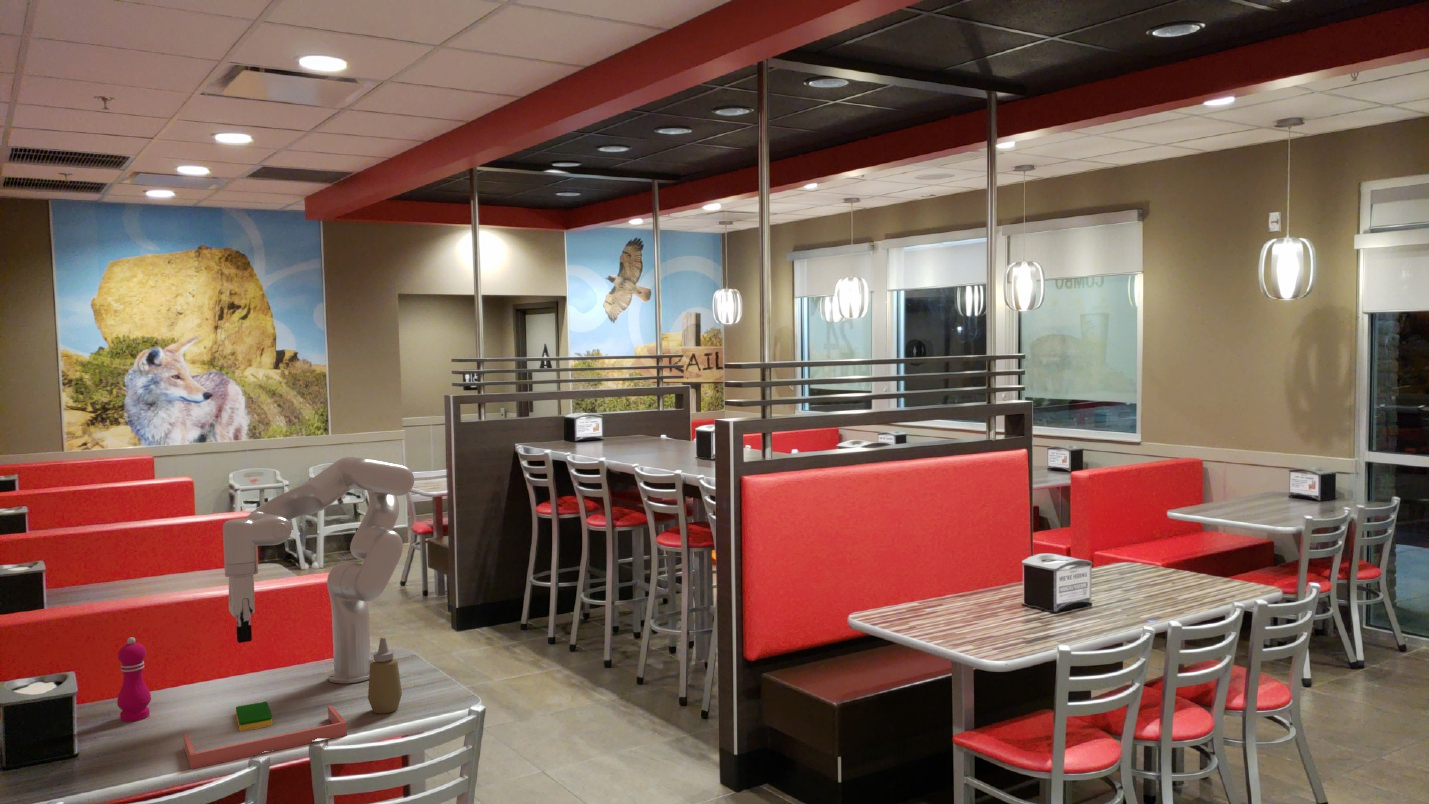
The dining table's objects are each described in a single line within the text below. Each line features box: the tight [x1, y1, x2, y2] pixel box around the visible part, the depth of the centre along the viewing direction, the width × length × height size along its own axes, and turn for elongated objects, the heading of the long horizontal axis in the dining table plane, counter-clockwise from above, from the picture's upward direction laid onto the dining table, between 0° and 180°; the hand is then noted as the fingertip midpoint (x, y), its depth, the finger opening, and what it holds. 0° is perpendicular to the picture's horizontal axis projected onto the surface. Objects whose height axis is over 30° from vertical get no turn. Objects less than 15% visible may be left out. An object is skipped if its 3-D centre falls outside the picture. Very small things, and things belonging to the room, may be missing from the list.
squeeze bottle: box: [367, 637, 403, 714], centre depth 247 cm, size 8×8×18 cm
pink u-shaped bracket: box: [183, 705, 348, 770], centre depth 228 cm, size 32×14×3 cm, turn 123°
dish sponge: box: [235, 701, 273, 732], centre depth 243 cm, size 7×14×2 cm, turn 29°
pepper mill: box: [116, 636, 152, 723], centre depth 246 cm, size 7×7×20 cm
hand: (244, 641), depth 251 cm, fingers closed
